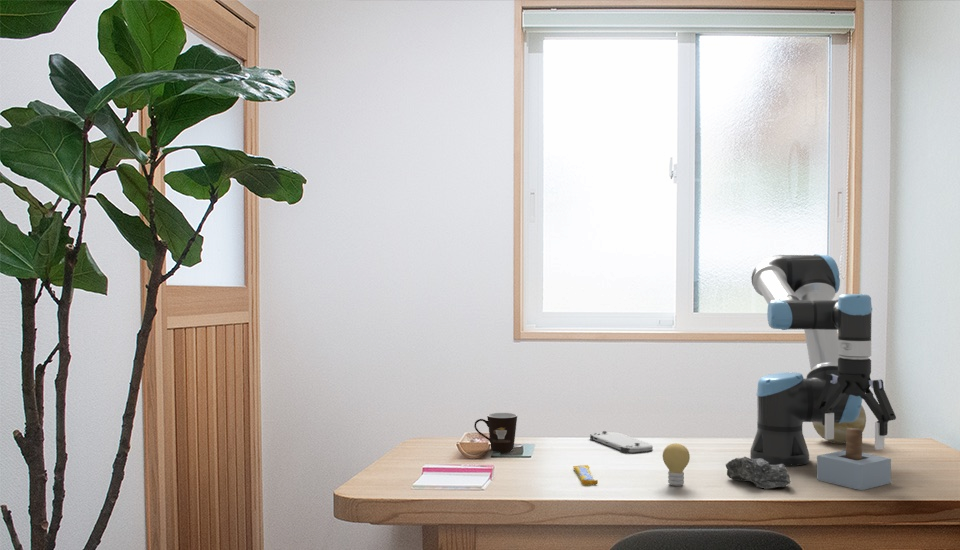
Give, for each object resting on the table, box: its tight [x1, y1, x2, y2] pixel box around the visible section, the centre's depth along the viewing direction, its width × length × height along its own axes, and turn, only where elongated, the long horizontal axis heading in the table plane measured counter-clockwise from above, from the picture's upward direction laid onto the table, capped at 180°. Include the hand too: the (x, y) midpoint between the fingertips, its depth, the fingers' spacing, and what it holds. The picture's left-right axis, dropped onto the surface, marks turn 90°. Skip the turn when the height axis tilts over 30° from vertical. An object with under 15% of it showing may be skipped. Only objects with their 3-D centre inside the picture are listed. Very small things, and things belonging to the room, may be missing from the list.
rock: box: [725, 456, 792, 490], centre depth 215 cm, size 13×13×10 cm
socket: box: [816, 449, 892, 491], centre depth 218 cm, size 12×12×6 cm
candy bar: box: [572, 464, 598, 486], centre depth 222 cm, size 17×4×2 cm, turn 1°
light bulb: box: [662, 442, 691, 487], centre depth 214 cm, size 6×6×10 cm
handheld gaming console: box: [589, 430, 654, 454], centre depth 261 cm, size 23×3×10 cm
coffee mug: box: [473, 412, 518, 454], centre depth 254 cm, size 12×9×10 cm
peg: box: [845, 428, 863, 460], centre depth 217 cm, size 4×4×12 cm
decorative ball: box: [811, 405, 867, 445], centre depth 262 cm, size 15×15×15 cm
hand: (853, 444), depth 217 cm, fingers open, 13 cm apart
